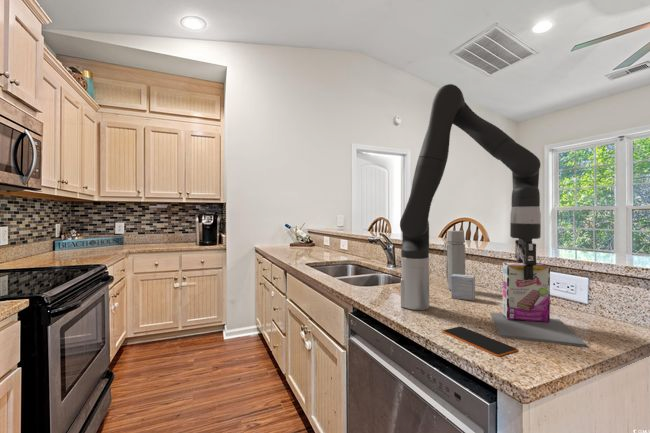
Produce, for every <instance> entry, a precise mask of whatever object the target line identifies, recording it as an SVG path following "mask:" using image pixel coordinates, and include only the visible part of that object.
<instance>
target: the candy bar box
mask: <svg viewBox="0 0 650 433" xmlns="http://www.w3.org/2000/svg"><path fill="white" fill-rule="evenodd" d="M550 290H551V267H550V266H549V265H547V264H544V263H536V265H534V267H533V279H532V280H527V279H524V265H523V263H517V262H502V314H503V316H505V318H506V319H507V320H520V321H535V322H550V318H551V317H550V316H551V315H550V314H551V312H550V311H551V309H550V307H551V304H550V302H551V294H550V293H551V292H550Z"/></svg>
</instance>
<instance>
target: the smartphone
mask: <svg viewBox="0 0 650 433" xmlns="http://www.w3.org/2000/svg"><path fill="white" fill-rule="evenodd" d="M441 332H442V333H443V334H445V335H447V336H450V337H453V338H454V339H457V340H459V341H461V342H463V343H466V344H468V345H470V346H472V347H474V348H477V349H479V350H481V351H484V352H485V353H488V354H490V355H493V356H495V357H497V358H500V357H503V356H504V357H505V356H507V355H511V354H513V353H517V352H519V349H518V348H517V347H514V346H511V345H510V344H507V343H504V342H502V341H499V340H497V339H494V338H491V337H489V336H486V335H484V334H481V333H479V332H476V331H473V330H472V329H469V328H466V327H464V326H456V327H451V328H448V329H443V330H442V331H441Z"/></svg>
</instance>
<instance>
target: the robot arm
mask: <svg viewBox="0 0 650 433" xmlns="http://www.w3.org/2000/svg"><path fill="white" fill-rule="evenodd" d="M430 110H431V111H430V116H429V121H428V126H427V129H426V133H425V135H424V139H423V142H422V145H421V148H420V152H419V155H418V159H417V162H416V165H415V168H414V169H415V170H414V175H413V178H412V182H411V183H412V184H411V190H410V195H409V196H408V197H409V198H408V200H407V203H406V206H405V209H404V211H403V214H402V216H401V218H400V221H399V227H400V231H401V233H402V236H401V238H402V242H401V248H400V254H401V255H400V256H401V262H400V263H401V279H400V307H401V308H405V309H408V310H414V311H422V310H423V311H425V310H429V309H430V253H429V252H430V221H429V217H430V210H431V206H432V203H433V199H434V197H435V194H436V192H437V190H438V188H439V185H440V184H441V181H442V178H443V175H444V172H445V170H446V165H447V163H448V157H449V153H450V152H449V151H450V150H449V149H450V140H451V131H452V126H453V125H454V126H456V127H457V128H459V129H460V130H461V131H462V132H464V133H466V134H467V135H468V136H469V137H470V138H472V139H473V140H474V141H475V142H476V143H477V144H478V145H479V146H480V147H481V148H483V149H484V150H485V151H486V152H487V153H488V154H489V155H490V156H492V157H494V158H495V159H496V160H499V161H500V162H501V163H502V164H503V165H504V166H506V168H508V169H509V170H510V171H511V174H512V176H511V178H512V179H511V180H512V190H511V191H512V192H511V209H510V218H509V219H510V221H509V222H510V224H509V225H510V229H509V230H510V231H509V233H510V234H509V235H510V238H512V239H516V240H515V241H514V242H515V247H514V249H515V251H514V252H515V253H514V255H515V256H514V259H515V261H516V263H523V265H524V279H527V280H532V279H533V267H534V265H536V264H537V244H536V243H533V239H534V240H538V239H540V238H541V236H542V234H541V231H542V230H541V227H542V224H541V223H542V222H541V218H542V216H541V215H542V214H541V208H540V206H541V205H540V203H541V200H540V199H541V195H540V194H541V193H540V189H539V184H540V183H539V182H540V180H539V179H540V169H541V161H540V159H539V157H538V156H537V155H536V154H535V153H533V152H531V151H530V150H529V149H527V148H526V147H524V146H522V145H521V144H519V143H518V142H516V140H514V139H513V138H512V137H511V136H510V135H508V134H507V133H506V132H504V130H503V129H500V128H499V127H498V126H496V125H494V124H493V123H491V122H490V121H488V120H486V119H484V118H482V117H481V116H479V115H478V114H477V113H476V112H474V111H473V110H472V109H471V107H470V106H469V105H468V104H467V103H466V101H465V97H464V94H463V91H462V90H461V88H459V87H458V86H457V85H455V84H454V83H453V84H452V83H448V84H444V85H442V86H441V87H440V88H439V89H438V90H437V91H436V93H435V94H434V96H433V99H432V104H431V109H430Z"/></svg>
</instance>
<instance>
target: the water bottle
mask: <svg viewBox="0 0 650 433" xmlns="http://www.w3.org/2000/svg"><path fill="white" fill-rule="evenodd" d="M465 238H466V237H465V231H464V230H447V231H446V239H445V241H446V242H444V243H443V244H444V251H443V253H444V256H446V266H445V274H446V275H445V276H444V273H443V271H444V267H442V270H441V274H442V279H446V282H447V283H446V289H447V290H449V291H451V276H452V275H453V274H459V275H466V240H465ZM444 260H445V258H443V261H442V264H444Z"/></svg>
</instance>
